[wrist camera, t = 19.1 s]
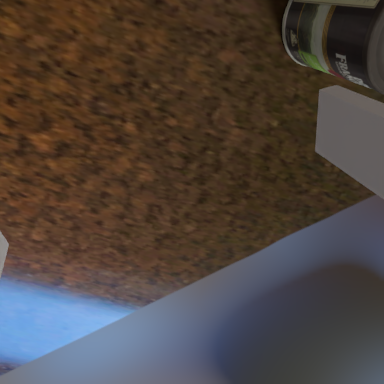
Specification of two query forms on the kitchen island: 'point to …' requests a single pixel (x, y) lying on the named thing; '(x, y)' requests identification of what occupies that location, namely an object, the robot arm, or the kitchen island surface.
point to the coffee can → (338, 38)
